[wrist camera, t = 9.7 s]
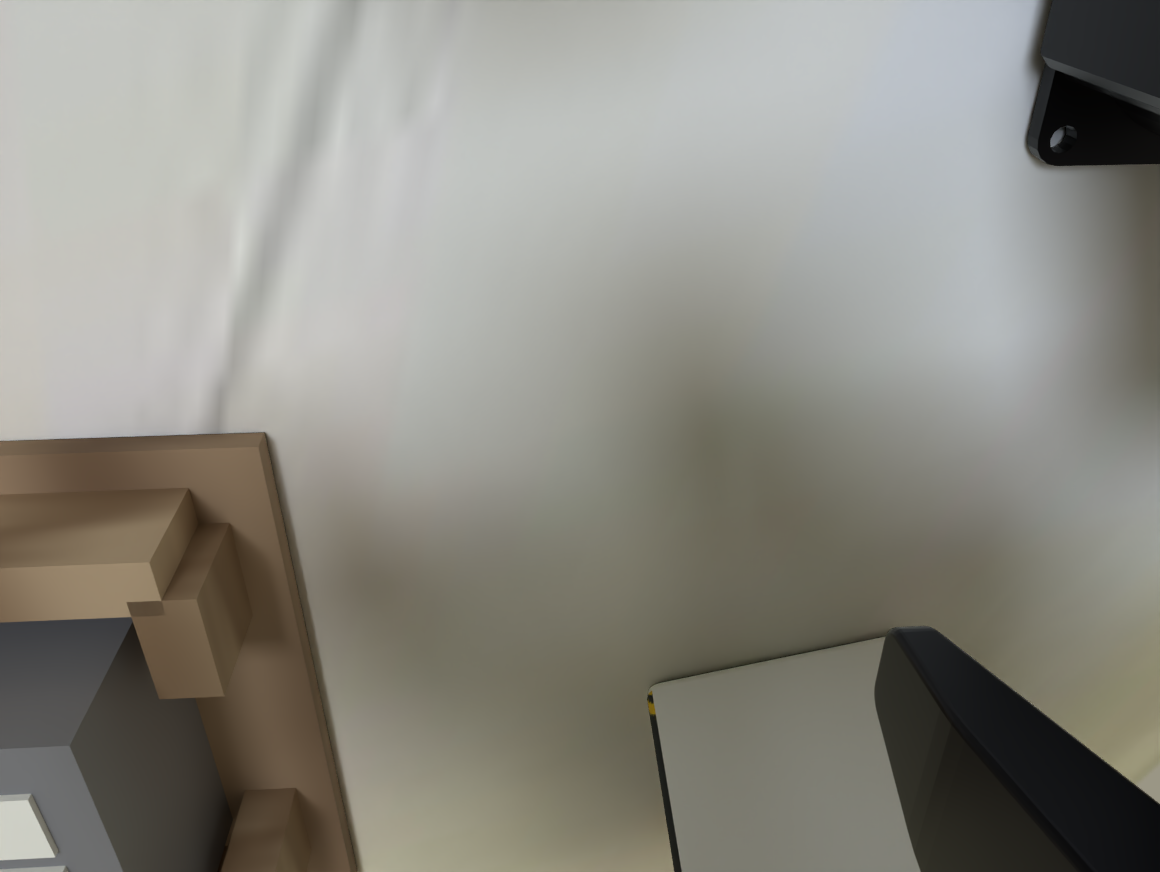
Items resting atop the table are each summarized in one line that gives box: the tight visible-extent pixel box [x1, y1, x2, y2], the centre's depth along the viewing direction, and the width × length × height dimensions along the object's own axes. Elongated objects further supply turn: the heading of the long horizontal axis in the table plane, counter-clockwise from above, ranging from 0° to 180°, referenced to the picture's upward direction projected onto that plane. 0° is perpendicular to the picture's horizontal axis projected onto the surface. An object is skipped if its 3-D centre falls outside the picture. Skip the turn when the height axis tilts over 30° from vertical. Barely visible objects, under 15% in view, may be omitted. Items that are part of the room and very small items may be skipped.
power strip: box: [0, 617, 233, 872], centre depth 22 cm, size 4×9×5 cm, turn 0°
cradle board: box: [0, 433, 357, 872], centre depth 23 cm, size 10×16×3 cm, turn 0°
